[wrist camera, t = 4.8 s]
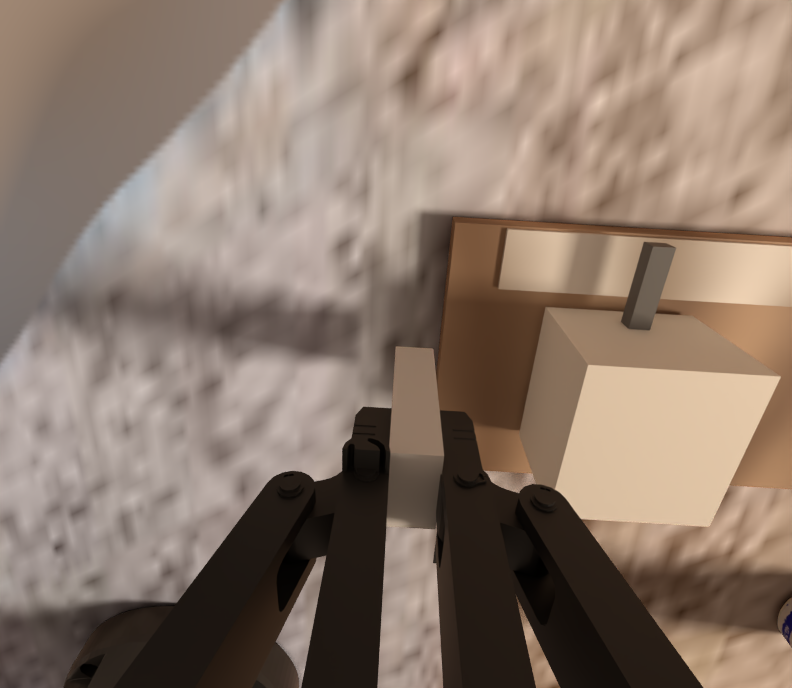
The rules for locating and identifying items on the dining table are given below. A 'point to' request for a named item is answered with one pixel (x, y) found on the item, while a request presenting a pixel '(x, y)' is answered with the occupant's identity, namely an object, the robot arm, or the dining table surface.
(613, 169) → the dining table surface
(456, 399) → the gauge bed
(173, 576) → the dining table surface
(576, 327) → the cream cube with rod
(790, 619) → the beverage can
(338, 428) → the dining table surface
